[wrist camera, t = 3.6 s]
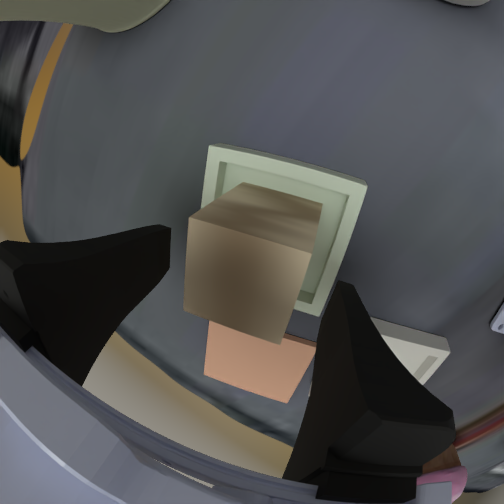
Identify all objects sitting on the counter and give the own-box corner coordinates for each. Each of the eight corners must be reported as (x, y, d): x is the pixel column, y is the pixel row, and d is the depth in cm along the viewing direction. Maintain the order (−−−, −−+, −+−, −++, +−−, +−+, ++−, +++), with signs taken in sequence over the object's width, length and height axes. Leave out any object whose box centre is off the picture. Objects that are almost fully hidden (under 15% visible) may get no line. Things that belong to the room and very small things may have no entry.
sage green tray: (364, 180, 13) (367, 186, 12) (321, 302, 17) (319, 316, 16) (220, 143, 14) (209, 145, 13) (204, 264, 18) (194, 275, 17)
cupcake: (387, 459, 24) (380, 524, 16) (410, 430, 21) (407, 512, 12) (444, 454, 22) (444, 515, 13) (475, 423, 18) (482, 495, 9)
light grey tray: (446, 337, 15) (450, 352, 14) (393, 400, 19) (394, 413, 18) (350, 310, 17) (350, 325, 15) (311, 381, 21) (308, 395, 19)
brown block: (322, 203, 14) (312, 254, 9) (301, 275, 16) (279, 346, 11) (243, 181, 15) (189, 216, 10) (231, 253, 17) (183, 311, 12)
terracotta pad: (318, 343, 19) (317, 348, 18) (288, 398, 22) (287, 403, 22) (213, 308, 20) (210, 312, 19) (206, 370, 24) (203, 374, 23)
